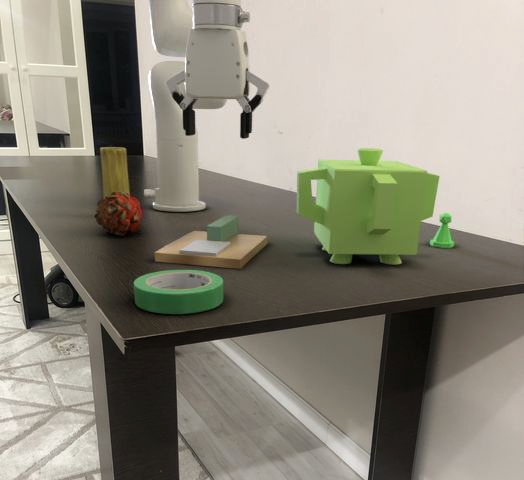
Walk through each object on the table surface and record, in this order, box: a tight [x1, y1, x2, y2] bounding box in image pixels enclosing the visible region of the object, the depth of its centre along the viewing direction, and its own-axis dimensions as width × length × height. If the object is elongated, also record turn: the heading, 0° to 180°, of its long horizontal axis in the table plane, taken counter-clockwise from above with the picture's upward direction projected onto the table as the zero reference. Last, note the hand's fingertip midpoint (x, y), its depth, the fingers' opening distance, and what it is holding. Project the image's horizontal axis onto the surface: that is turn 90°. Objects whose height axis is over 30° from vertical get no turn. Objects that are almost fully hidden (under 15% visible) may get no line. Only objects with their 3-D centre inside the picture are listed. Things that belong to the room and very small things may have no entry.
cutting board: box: [154, 230, 268, 270], centre depth 95 cm, size 14×18×2 cm
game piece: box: [429, 212, 455, 249], centre depth 103 cm, size 4×4×6 cm
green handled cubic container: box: [296, 147, 440, 265], centre depth 92 cm, size 25×23×17 cm
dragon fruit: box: [94, 191, 143, 236], centre depth 107 cm, size 8×8×12 cm
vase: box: [99, 146, 131, 199], centre depth 120 cm, size 6×6×14 cm
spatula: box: [179, 214, 239, 257], centre depth 95 cm, size 19×6×3 cm, turn 166°
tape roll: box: [133, 269, 224, 315], centre depth 71 cm, size 11×11×3 cm
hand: (217, 136), depth 95 cm, fingers open, 9 cm apart
